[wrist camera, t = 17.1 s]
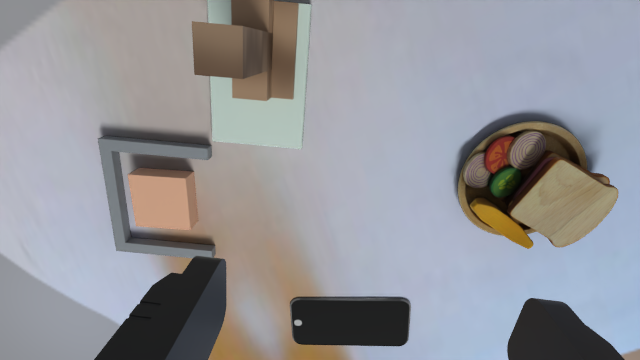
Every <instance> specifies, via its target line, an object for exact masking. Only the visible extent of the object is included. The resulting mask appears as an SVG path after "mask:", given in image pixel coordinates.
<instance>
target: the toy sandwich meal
mask: <svg viewBox="0 0 640 360" xmlns="http://www.w3.org/2000/svg"><path fill="white" fill-rule="evenodd" d="M458 198H459V202H460V205H461V208H462V210H463V212H464V213H465V215H466V216H467V218H468V219H469V220H470V221H471V222H472V223H473V224H474V225H476V226H477V227H479V228H480V229H482V230H484V231H486V232H489V233H492V234H496V235H502V236H505V237H506V238H508V239H510V240H511V241H513V242H515V243H517V244H519V245H521V246H523V247H525V248H527V249H529V248H531V247H532V246H533V241H532V240H531V239H530V238H529V236H528V235H527V234H530V233H533V232H536V231H537V232H539V233H541V234H542V235H544V236H545V237H547V238H548V239H549V241H550V242H551V243H552V244H553V245H554V246H555V247H564V246H567V245H570V244H572V243H574V242H576V241H578V240H579V239H581V238H583V237H584V236H585V235H587V234H588V233H589V232H591V231H592V230H593V229H594V228H595V227H596V226H597V225H598V224H599V223H600V222H601V221H602V220H603V219H604V218H605V217H606V216H607V215H608V213H609V212H610V211H611V209H612V208H613V206H614V204H615V203H616V200H617V198H618V190H617V188H616V187H614V186H612V185H610V181H609V178H608V177H606V176H604V175H603V174H599V173H591V172H589V171H588V170H587V160H586V155H585V152H584V150H583V148H582V146H581V144H580V142H579V141H578V140H577V138H576V137H575V136H574V135H573V134H571V133H570V132H569V131H567V130H566V129H564V128H562V127H560V126H558V125H555V124H552V123H547V122H540V121H529V122H521V123H517V124H513V125H510V126H507V127H505V128H503V129H500V130H498V131H497V132H495V133H493V134H492V135H490V136H489V137H487V138H486V139H485V140H483V141H482V142H481V143H480V144H479V145H478V146H477V147H476V148H475V149H474V150H473V151H472V153H471V154H470V155H469V157H468V158H467V160H466V162H465V164H464V166H463V168H462V171H461V173H460V177H459V182H458Z"/></svg>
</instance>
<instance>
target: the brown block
mask: <svg viewBox="0 0 640 360" xmlns="http://www.w3.org/2000/svg"><path fill="white" fill-rule="evenodd" d="M298 10H299V4H298V3H291V2H280V1H274V0H231V25H226V24H215V23H204V22H193V21H192V33H193V53H194V73H195V75H203V76H214V77H225V78H232V98H238V99H249V100H260V101H267V100H269V99H270V98H280V99H291V100H293V99H294V83H295V64H296V46H297V28H298Z"/></svg>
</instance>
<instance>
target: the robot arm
mask: <svg viewBox="0 0 640 360" xmlns="http://www.w3.org/2000/svg"><path fill="white" fill-rule="evenodd" d="M225 311H226V261H225V259H220V258H212V257H204V256H195V257H194V258H193V259H192V261H191V262H190V263H189V265H188V266H187V268H186V269H185V271H184V272H183V273H182V274H178V273H170V274H169V275H167V276H166V277H164V278H163V279H161V280H160V281H158V282H157V283H155V284H154V285H153V286H152V287H151V288H150V289H149V291H148V292H147V293H146V295H145V296H144V297H143V298H142V300H141V301H140V304H138V305H137V306H136V307H135V308H134V310H133V311H132V312H131V314H130V315H129V318H128V319H126V320H125V321H124V322H123V324H122V325H121V326H120V328H119V329H118V330H117V331H116V333H115V334H114V335H113V336H112V338H111V339H110V340H109V341H108V343H107V344H106V345H105V347H104V348H103V349H102V351H101V352H100V353H99V354H98V355H97V357H96V358H95V359H94V360H208V358H209V356H210V353H211V351H212V349H213V346H214V344H215V342H216V339H217V337H218V335H219V332H220V330H221V327H222V324H223V321H224V317H225ZM508 359H509V360H624V359H623V357H622V356H621V355H620V354H619V353H618V352H617V351H616V350H615V348H614V347H613V346H612V345H611V344H610V343H609V342H607V341H606V340H605V339H603V338H602V337H601V336H600V335H598V334H597V333H596V332H594V331H593V330H592V329H590V328H589V327H588V326H586V325H585V324H584V323H583V322H582V321H581V320H580V319H579V317H578V316H577V315H576V314H575V313H574V312H573V311H572V309H571V308H570V307H569V306H568V305H567V304H565V303H563V302H559V301H551V300H543V299H535V298H530V299H528V300H527V301H526V302H525V304H524V306H523V308H522V310H521V313H520V315H519V317H518V320H517V322H516V325H515V327H514V329H513V332H512V334H511V336H510V339H509V341H508Z"/></svg>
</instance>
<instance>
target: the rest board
mask: <svg viewBox="0 0 640 360" xmlns="http://www.w3.org/2000/svg"><path fill="white" fill-rule="evenodd" d="M207 2H208V23H215V24H226V25H231V0H207ZM298 4H299V10H298V28H297V46H296V64H295V83H294V99H293V100H291V99H280V98H270V99H269V100H267V101H260V100H249V99H238V98H232V78H225V77H214V76H210V85H211V112H212V140H213V141H217V142H228V143H239V144H249V145H260V146H271V147H282V148H292V149H302V145H303V130H304V115H305V100H306V84H307V69H308V54H309V39H310V24H311V8H312V6H311V4H300V3H298Z"/></svg>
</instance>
